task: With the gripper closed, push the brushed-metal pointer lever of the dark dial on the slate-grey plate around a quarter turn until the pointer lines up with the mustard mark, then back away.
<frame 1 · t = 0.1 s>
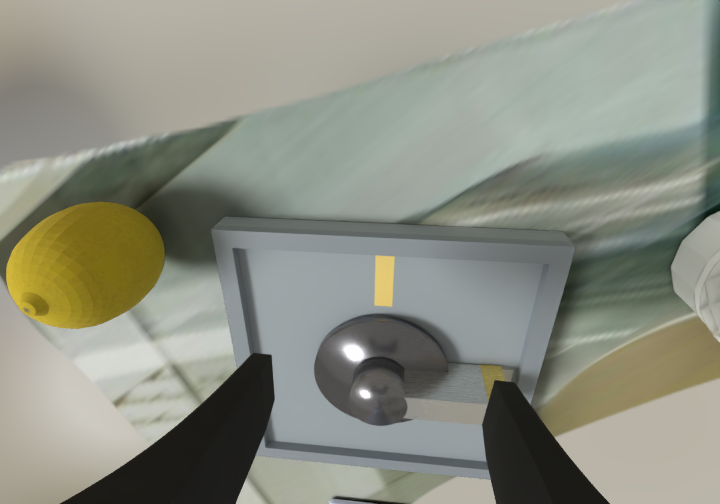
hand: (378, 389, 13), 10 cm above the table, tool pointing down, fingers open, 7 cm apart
dial plate: (382, 352, 25), on the table
lemon: (146, 227, 23), on the table
dial: (405, 388, 22), point 3 cm above the table, hinge at -90.0°
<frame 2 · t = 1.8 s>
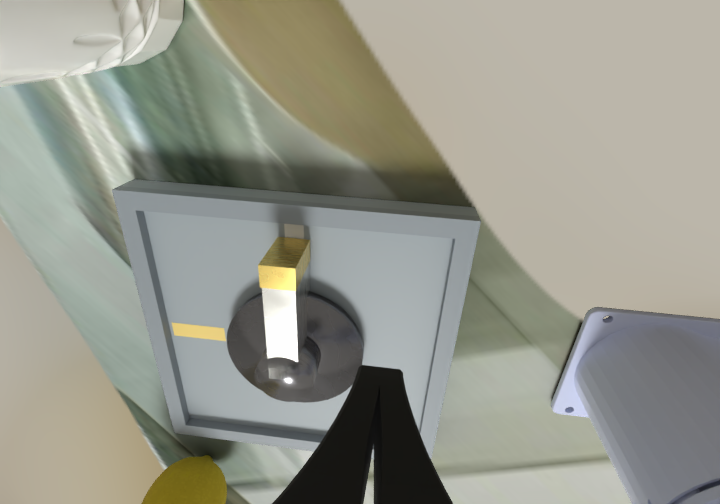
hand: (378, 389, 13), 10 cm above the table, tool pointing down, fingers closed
dial plate: (302, 330, 24), on the table
lemon: (209, 454, 32), on the table
dial: (289, 340, 21), point 3 cm above the table, hinge at -90.0°
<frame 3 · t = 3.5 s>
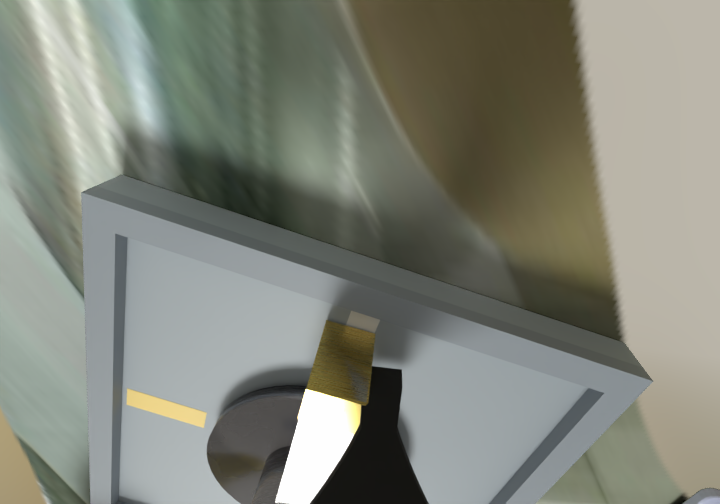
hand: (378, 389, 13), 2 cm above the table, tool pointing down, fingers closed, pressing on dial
dial plate: (315, 427, 17), on the table
dial: (308, 466, 14), point 3 cm above the table, hinge at -87.3°, touching gripper
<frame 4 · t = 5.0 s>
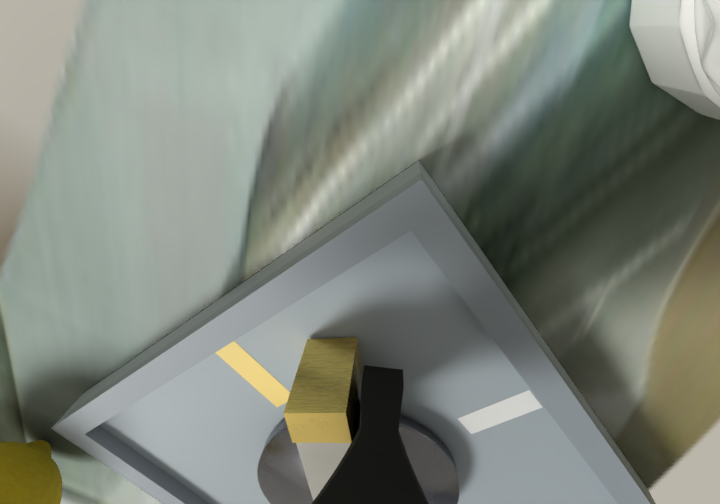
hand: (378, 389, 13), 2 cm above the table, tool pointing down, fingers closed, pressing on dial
dial plate: (361, 441, 17), on the table
lemon: (49, 439, 20), on the table
dial: (348, 483, 14), point 3 cm above the table, hinge at -30.5°, touching gripper
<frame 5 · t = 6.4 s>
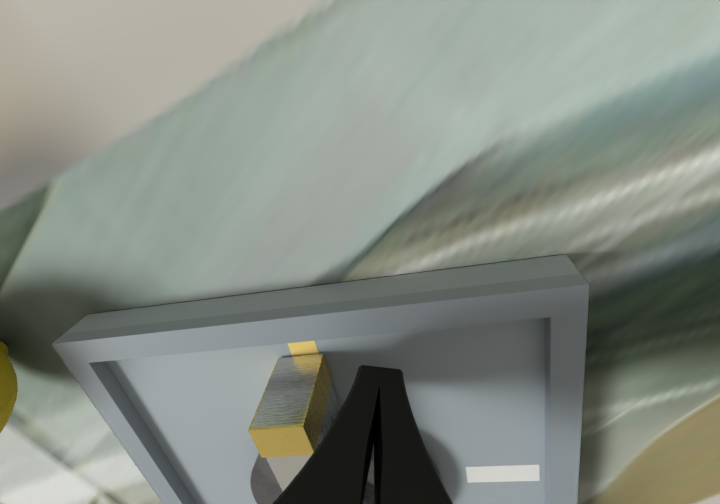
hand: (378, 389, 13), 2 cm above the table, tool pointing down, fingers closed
dial plate: (351, 452, 18), on the table
lemon: (7, 341, 17), on the table
dial: (333, 494, 15), point 3 cm above the table, hinge at 1.2°
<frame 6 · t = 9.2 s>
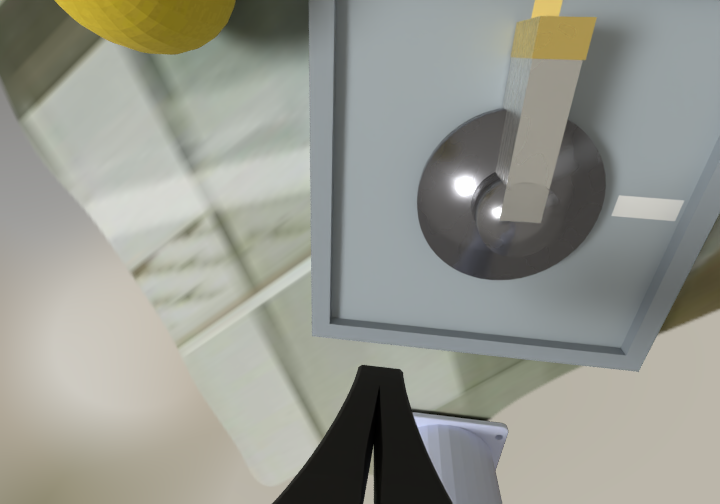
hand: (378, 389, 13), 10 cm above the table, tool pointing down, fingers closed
dial plate: (498, 188, 19), on the table
dial: (519, 174, 16), point 3 cm above the table, hinge at 1.4°
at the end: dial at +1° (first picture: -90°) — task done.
